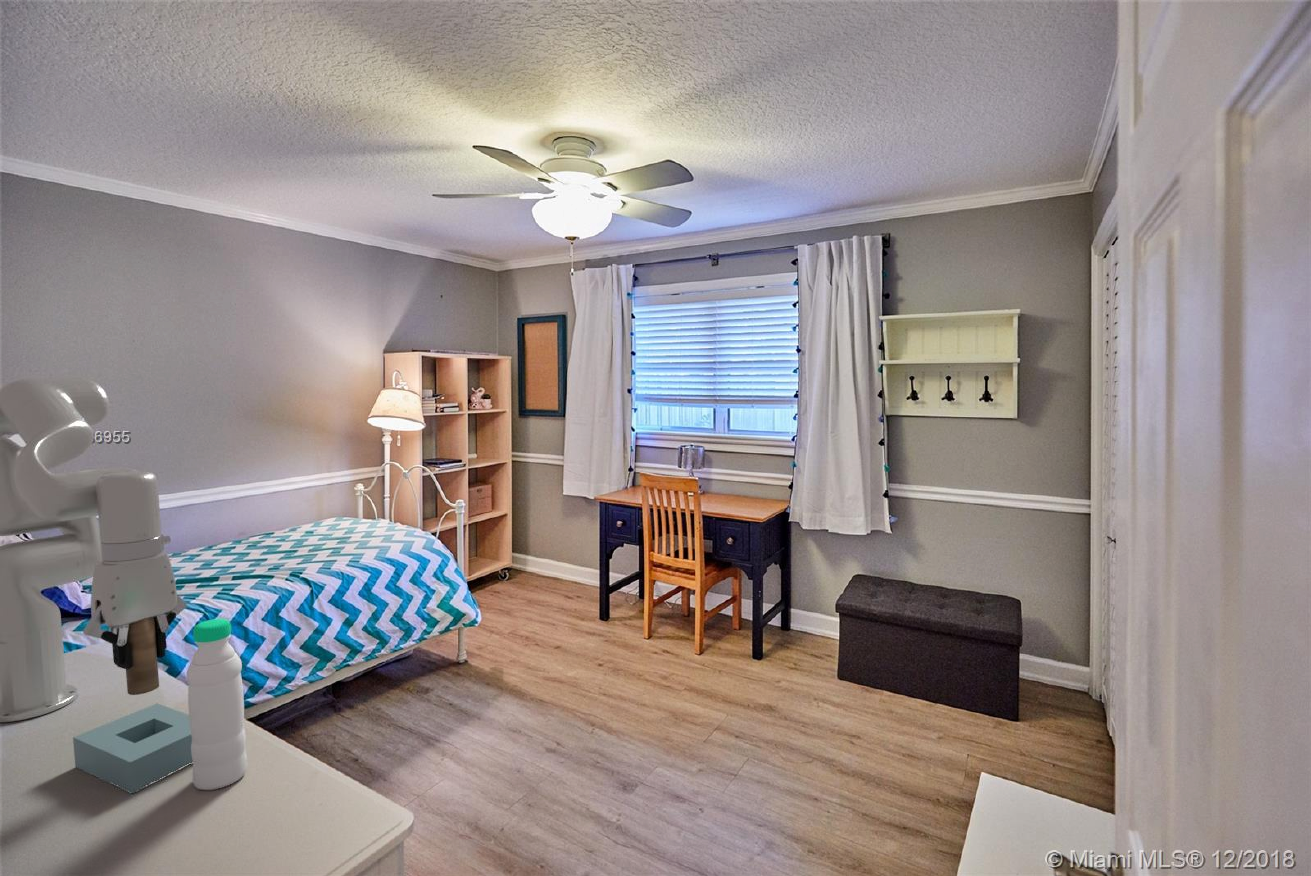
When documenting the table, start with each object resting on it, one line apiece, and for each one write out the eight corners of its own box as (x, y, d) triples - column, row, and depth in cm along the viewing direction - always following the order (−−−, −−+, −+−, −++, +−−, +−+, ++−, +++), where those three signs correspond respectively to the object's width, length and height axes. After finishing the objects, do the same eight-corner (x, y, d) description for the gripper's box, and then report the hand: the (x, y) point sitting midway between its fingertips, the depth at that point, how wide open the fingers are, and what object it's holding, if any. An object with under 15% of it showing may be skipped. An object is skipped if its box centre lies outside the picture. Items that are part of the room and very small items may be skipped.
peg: (122, 692, 103) (115, 606, 102) (150, 681, 107) (144, 598, 106) (136, 696, 101) (129, 610, 100) (164, 686, 105) (158, 602, 104)
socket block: (75, 767, 103) (73, 737, 103) (158, 730, 114) (157, 703, 114) (132, 794, 97) (130, 762, 96) (215, 752, 107) (213, 723, 107)
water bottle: (220, 795, 96) (211, 633, 94) (181, 789, 98) (171, 629, 95) (258, 767, 103) (250, 616, 101) (221, 762, 105) (212, 612, 102)
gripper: (176, 536, 111) (183, 639, 113) (53, 560, 96) (64, 679, 98) (202, 540, 108) (210, 646, 110) (80, 565, 93) (91, 688, 94)
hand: (141, 660), depth 104 cm, fingers closed on peg, 4 cm apart
